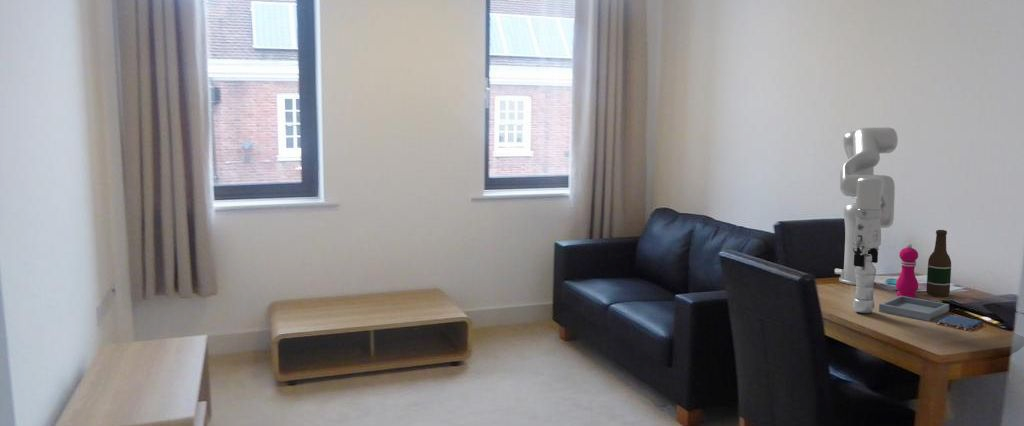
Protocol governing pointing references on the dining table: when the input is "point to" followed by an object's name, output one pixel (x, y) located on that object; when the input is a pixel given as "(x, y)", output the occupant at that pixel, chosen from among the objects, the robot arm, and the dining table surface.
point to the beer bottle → (939, 268)
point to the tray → (914, 308)
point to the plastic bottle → (864, 286)
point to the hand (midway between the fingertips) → (865, 264)
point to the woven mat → (959, 322)
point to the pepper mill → (907, 273)
